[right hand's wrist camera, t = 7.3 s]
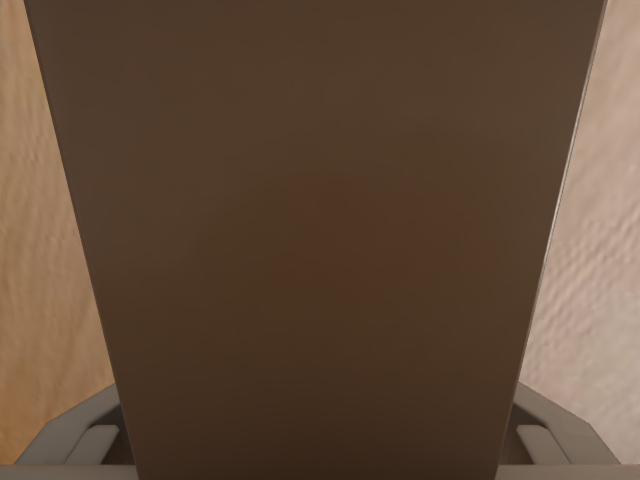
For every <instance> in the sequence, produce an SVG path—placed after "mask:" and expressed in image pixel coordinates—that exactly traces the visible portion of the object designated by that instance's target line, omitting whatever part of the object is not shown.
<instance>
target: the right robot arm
mask: <svg viewBox="0 0 640 480" xmlns="http://www.w3.org/2000/svg"><path fill="white" fill-rule="evenodd" d="M0 480H139V479H138V475H137V471H136V467H135V463H134V458H133V454H132V450H131V446H130V442H129V438H128V433H127V429H126V425H125V421H124V417H123V413H122V408H121V404H120V400H119V396H118V392H117V388H116V383H114V384H112V385H110V386H109V387H107V388H105V389H104V390H102V391H100V392H99V393H97V394H95V395H93V396H92V397H90V398H88V399H87V400H85V401H83V402H82V403H80V404H78V405H77V406H75V407H73V408H71V409H70V410H68V411H66V412H65V413H63V414H61V415H60V416H58V417H56V418H55V419H53V420H51V421H49V422H48V423H46V424H45V426H44V427H43V428H42V429H41V431H40V432H39V433H38V434H37V436H36V437H35V438H34V439H33V441H32V442H31V443H30V444H29V446H28V447H27V448H26V449H25V451H24V452H23V453H22V454H21V456H20V457H19V458H18V459H17V461H16V462H15V463H14V464H13V465H0ZM495 480H640V465H621V463H620V462H619V461H618V460H617V458H616V457H615V456H614V454H613V453H612V452H611V451H610V449H609V448H608V447H607V445H606V444H605V443H604V442H603V440H602V439H601V438H600V437H599V435H598V434H597V433H596V431H595V430H594V429H593V428H592V426H591V425H590V424H589V423H587V422H586V421H584V420H582V419H581V418H579V417H577V416H576V415H574V414H572V413H571V412H569V411H567V410H566V409H564V408H562V407H561V406H559V405H557V404H556V403H554V402H552V401H551V400H549V399H547V398H545V397H544V396H542V395H540V394H539V393H537V392H535V391H534V390H532V389H530V388H529V387H527V386H525V385H524V384H522V383H520V382H519V381H518V384H517V388H516V392H515V397H514V401H513V405H512V409H511V414H510V418H509V422H508V426H507V431H506V435H505V439H504V443H503V448H502V452H501V456H500V460H499V465H498V469H497V473H496V477H495Z"/></svg>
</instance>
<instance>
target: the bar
mask: <svg viewBox="0 0 640 480" xmlns="http://www.w3.org/2000/svg"><path fill="white" fill-rule="evenodd" d="M607 1H608V0H24V4H25V8H26V13H27V17H28V21H29V25H30V29H31V33H32V38H33V42H34V46H35V50H36V54H37V58H38V63H39V67H40V71H41V75H42V79H43V83H44V88H45V92H46V96H47V100H48V104H49V108H50V113H51V117H52V121H53V125H54V129H55V133H56V138H57V142H58V146H59V150H60V154H61V158H62V163H63V167H64V171H65V175H66V179H67V183H68V188H69V192H70V196H71V200H72V204H73V208H74V213H75V217H76V221H77V225H78V229H79V233H80V238H81V242H82V246H83V250H84V254H85V258H86V263H87V267H88V271H89V275H90V279H91V283H92V288H93V292H94V296H95V300H96V304H97V308H98V313H99V317H100V321H101V325H102V329H103V333H104V338H105V342H106V346H107V350H108V354H109V358H110V363H111V367H112V371H113V375H114V379H115V383H116V388H117V392H118V396H119V400H120V404H121V408H122V413H123V417H124V421H125V425H126V429H127V433H128V438H129V442H130V446H131V450H132V454H133V458H134V463H135V467H136V471H137V475H138V479H139V480H495V477H496V473H497V469H498V465H499V460H500V456H501V452H502V448H503V443H504V439H505V435H506V431H507V426H508V422H509V418H510V414H511V409H512V405H513V401H514V397H515V392H516V388H517V384H518V380H519V375H520V371H521V367H522V363H523V358H524V354H525V350H526V346H527V341H528V337H529V333H530V329H531V324H532V320H533V316H534V312H535V307H536V303H537V299H538V294H539V290H540V286H541V282H542V277H543V273H544V269H545V265H546V260H547V256H548V252H549V248H550V243H551V239H552V235H553V231H554V226H555V222H556V218H557V214H558V209H559V205H560V201H561V197H562V192H563V188H564V184H565V180H566V175H567V171H568V167H569V163H570V158H571V154H572V150H573V146H574V141H575V137H576V133H577V129H578V124H579V120H580V116H581V112H582V107H583V103H584V99H585V95H586V90H587V86H588V82H589V78H590V73H591V69H592V65H593V61H594V56H595V52H596V48H597V44H598V39H599V35H600V31H601V26H602V22H603V18H604V14H605V9H606V5H607Z"/></svg>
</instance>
